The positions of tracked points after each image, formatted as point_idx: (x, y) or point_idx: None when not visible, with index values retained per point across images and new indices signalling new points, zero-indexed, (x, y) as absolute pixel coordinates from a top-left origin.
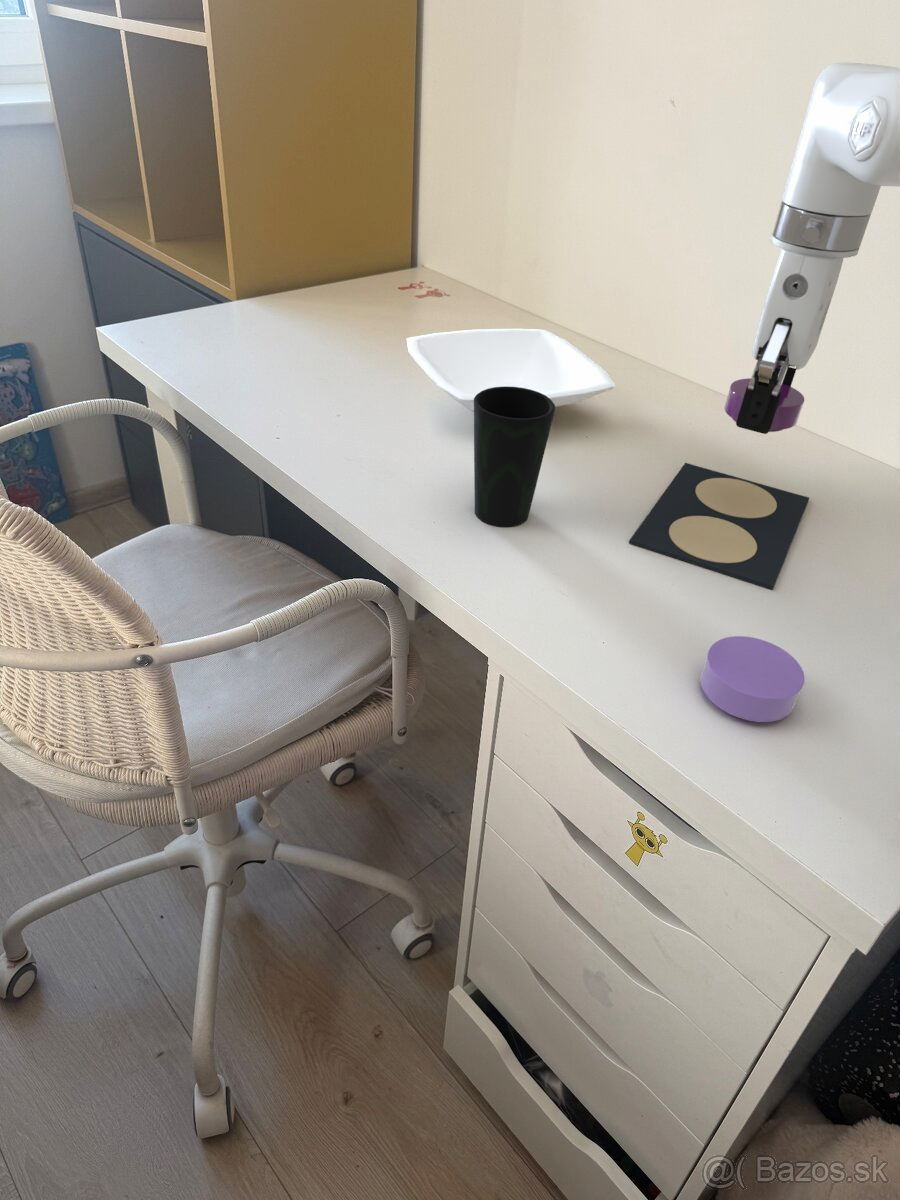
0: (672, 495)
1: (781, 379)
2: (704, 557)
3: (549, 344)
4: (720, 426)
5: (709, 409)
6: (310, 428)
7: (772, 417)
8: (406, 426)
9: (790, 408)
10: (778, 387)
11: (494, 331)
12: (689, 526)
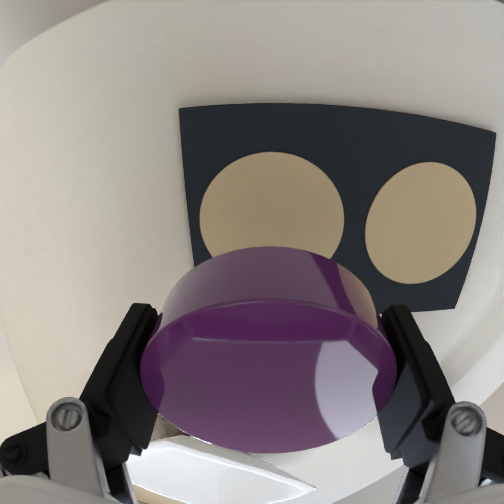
0: None
1: (479, 457)
2: (472, 226)
3: None
4: (53, 292)
5: (31, 310)
6: (338, 483)
7: (420, 339)
8: (302, 470)
9: (373, 324)
10: (484, 431)
11: (150, 489)
12: (407, 263)
